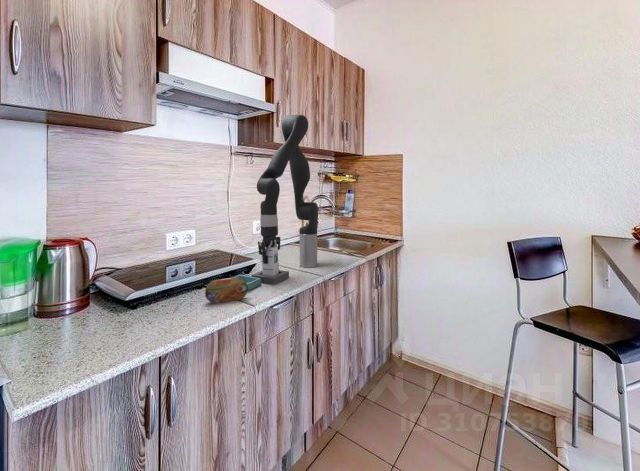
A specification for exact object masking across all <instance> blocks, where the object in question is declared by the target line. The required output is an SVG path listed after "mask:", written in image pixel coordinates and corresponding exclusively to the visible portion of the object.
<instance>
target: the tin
mask: <svg viewBox="0 0 640 471" xmlns="http://www.w3.org/2000/svg"><path fill="white" fill-rule="evenodd" d="M233 277H234V278H233ZM233 277H228V278H222V279H221V278H220V279H214V280H211V281H210V282H209V283H208V284H207V285H206V287H205V290H204V295H205V298H206V300H207V301H209V302H210V303H212V304H222V303H229V302H234V301H235V302H236V301H239V300H242V299H244V298H245V297H246V295H247V294H248V292H249V291H248V285H247V283H246V282H245V281H244V280H243V279H241V278H238V277H235V276H233ZM247 291H248V292H247Z"/></svg>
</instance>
